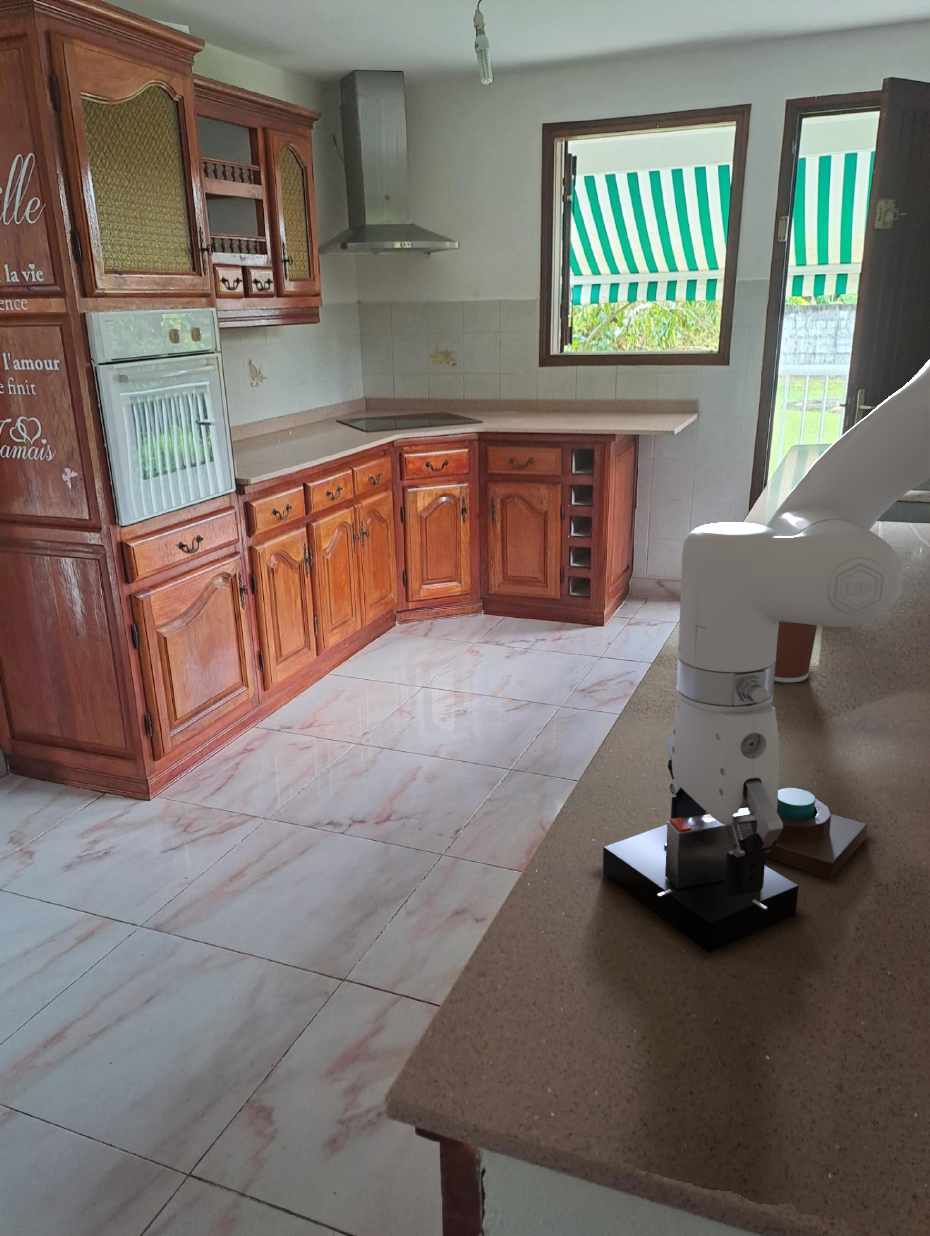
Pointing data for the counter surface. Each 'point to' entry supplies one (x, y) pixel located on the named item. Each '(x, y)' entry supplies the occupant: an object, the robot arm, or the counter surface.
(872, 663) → the counter surface
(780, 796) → the button
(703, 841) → the metal block
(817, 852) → the brown square base
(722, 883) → the black rectangular base
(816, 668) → the counter surface
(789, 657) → the coffee cup
